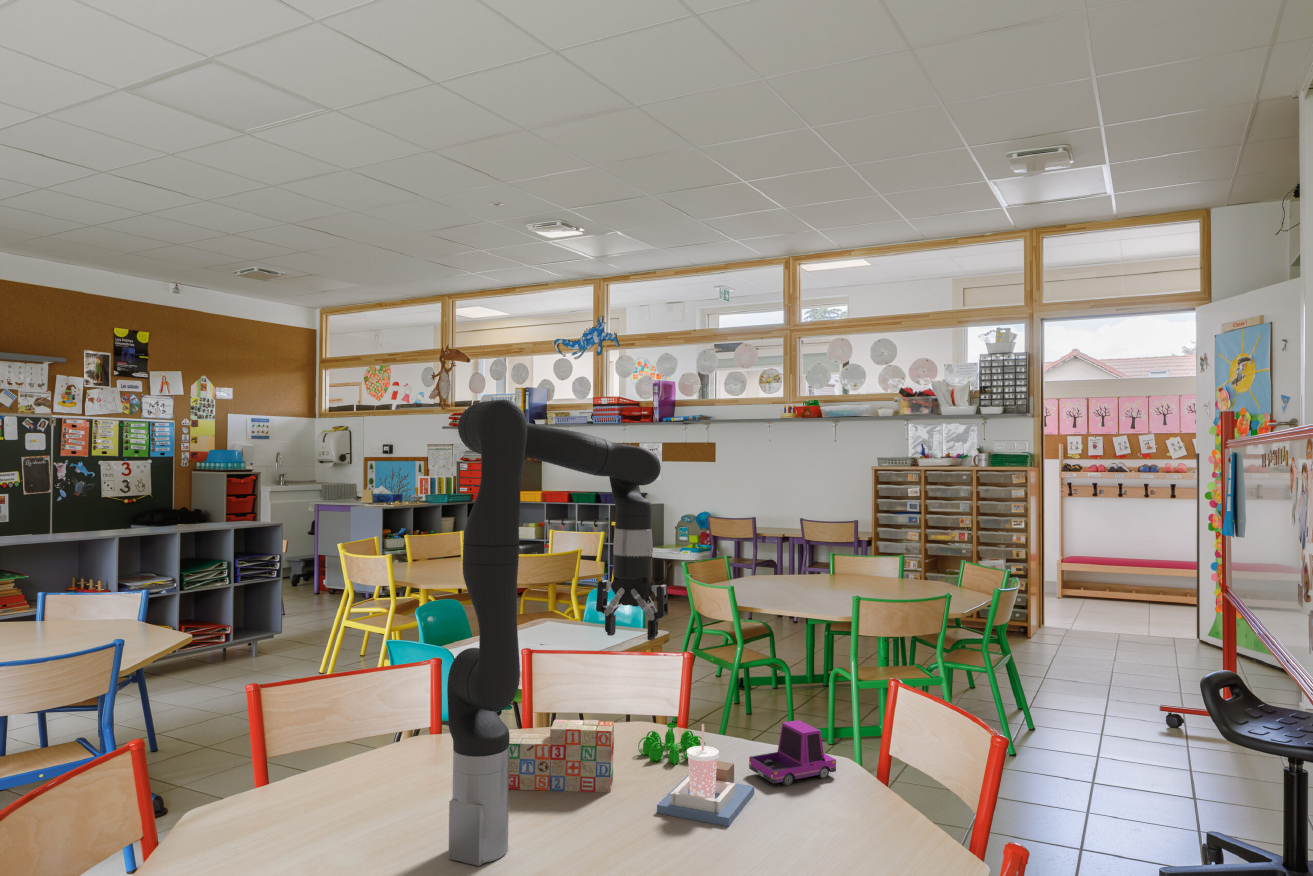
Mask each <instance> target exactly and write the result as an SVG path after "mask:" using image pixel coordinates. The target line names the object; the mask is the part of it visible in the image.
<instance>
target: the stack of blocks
mask: <svg viewBox="0 0 1313 876" xmlns="http://www.w3.org/2000/svg"><path fill="white" fill-rule="evenodd" d="M614 728H615V723H614V721H608V720H604V721H603V720H599V719H554V720H553V722H552V725H551V727H550V730H549V731H550V733H548V734H540V733H509V737H510V739H509V790H520V791H542V792H543V791H545V792H546V791H547V792H549V791H554V792H555V791H556V792H580V793H611V791H612V787H613V782H614V755H615V754H614V752H615V751H614V748H615V746H614V745H615V742H614V741H615V736H614V735H615V729H614Z"/></svg>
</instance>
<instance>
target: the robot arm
mask: <svg viewBox="0 0 1313 876" xmlns="http://www.w3.org/2000/svg"><path fill="white" fill-rule="evenodd" d="M457 431H458V436H459V438H460V440H461V442H462V443H463V445H464V446H465V448H468V449H469V450H471V451H472V452H473V453H476V454H480V457H481V459H480V463H481V467H480V472H481V473H480V482H479V488H478V492H477V495H476V498H475V501H474V503H473V506H472V508H471V510H470V513H469V516H468V518H467V521H466V525H465V527H464V531H463V532H464V534H463V540H462V541H463V545H462V574H463V580H464V582H465V583H464V584H465V585H466V586H465V587H466V590H467V592H468V595H469V598H470V601H471V604H472V605H473V609H474V611H475V614H476V617H477V623H478V632H479V633H478V634H479V638H478V639H479V642H478V644H479V645H478V646H479V647H468V648H466V649H464V650H462V651H461V652H459V653H458V654H457V655H456V656H455V658H454V659H453V661H452V662H451V664H450V668H449V671H448V676H447V682H446V683H447V684H446V685H447V690H446V693H447V694H446V695H447V716H448V717H447V721H448V730H449V733H450V736H451V738H452V743H453V745H452V746H453V747H452V796H451V797H452V799H450V800H449V805H448V806H449V807H448V811H449V813H448V860H452V861H456V862H461V863H465V864H468V865H472V866H473V865H474V866H477V867H480V866H482V865H483V864H486V863H490V862H493V861H496V860H498V859H500V858H502V857H504V856H505V855H506V853H508V850H509V813H510V812H509V811H510V810H509V805H510V804H509V803H510V802H509V800H510V799H509V798H510V797H509V795H510V789H509V739H510V737H509V736H510V730H509V728H508V726H507V725H506V723H504V721H502V719H501V718H500V716H499V715H498V712H501V711H504V710H505V709H507V708H508V707H510V705H511V704H512V703H513V701H514V699H515V698H516V695H517V693H518V689H519V686H520V680H521V679H520V678H521V663H520V649H519V637H518V636H519V635H518V572H519V560H520V559H519V558H520V514H521V488H522V477H523V469H524V461H525V459H531V460H536V461H540V462H544V463H548V464H552V465H555V466H558V467H562V468H565V469H568V470H573V471H576V472H579V473H584V474H588V475H593V476H596V477H608V479H609V482H610V483H609V484H610V488H611V493H612V497H613V501H614V506H615V517H614V518H615V519H614V520H615V521H614V522H615V523H614V527H615V528H614V536H613V555H612V557H613V558H612V577H613V579H612V581H609V580H608V579H603V580H600V581H598V582H597V589H596V603H595V604H596V605H595V611H596V612H598V613H601V614H603V615H604V617H605V618H604V631H605V633H606V634H607V636H611V637H612V636H614V635H615V634H616V620H617V615H616V614H615V613H616V612H617V611H618V609H619V608H620V607H621V606H624V607H625V606H632V607H640V609H641V610H642V611H643V612H644V613H645V614H646V616H647V618H648V619H649V620H647V637H646V638H647V641H653V640H655V639H656V637H657V636H658V635H659V620H660V619H662V618H664V617H667V616H668V615H669V593H668V591H669V590H668V586H667V584H661V585H658V584H657V585H654V583H653V582H652V578H653V577H652V576H653V552H654V547H653V546H654V545H653V534H652V532H653V531H652V524H653V523H652V522H653V521H652V519H653V517H652V515H653V510H652V502H651V501H650V500H649V499H648V498H645V497H643V496H642V494H641V489H640V486H647V485H650V484H652V483H654V482H655V481H656V480H657V479H658V478H659V476H660V474H661V469H662V467H661V462H660V459H659V458H658V456H657V454H655V452H653V451H651V450H650V449H648V448H645V447H641V446H636V445H630V444H625V443H619V442H614V441H610V440H607V439H605V438H601V437H598V436H596V435H595V436H594V435H592V434H587V433H585V432H584V433H583V432H579V431H575V430H574V431H573V430H570V429H569V430H568V429H561V428H556V427H548V426H543V425H539V424H535V423H531V422H529V421H528V422H527V418H526V416H525V413H524V411H523V410H522V409H521V406H520V405H518V404H517V403H516V402H514V401H512V400H509V399H498V400H497V399H495V400H494V399H493V400H488V401H487V400H486V401H480V402H476V403H474V404H471V405H469V406H468V407H467V408H465V410H464V411H463V412H462V413H461V415H460V416H459V419H458V423H457ZM611 590H612V592H613V594H614V597H613V598H612V599H611V600H610V601H609V604H608V599H609V592H610V591H611ZM652 593H653V594H654V596H655V598H656V606H655V603H654V601H653V600H652V598H651V594H652Z"/></svg>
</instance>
